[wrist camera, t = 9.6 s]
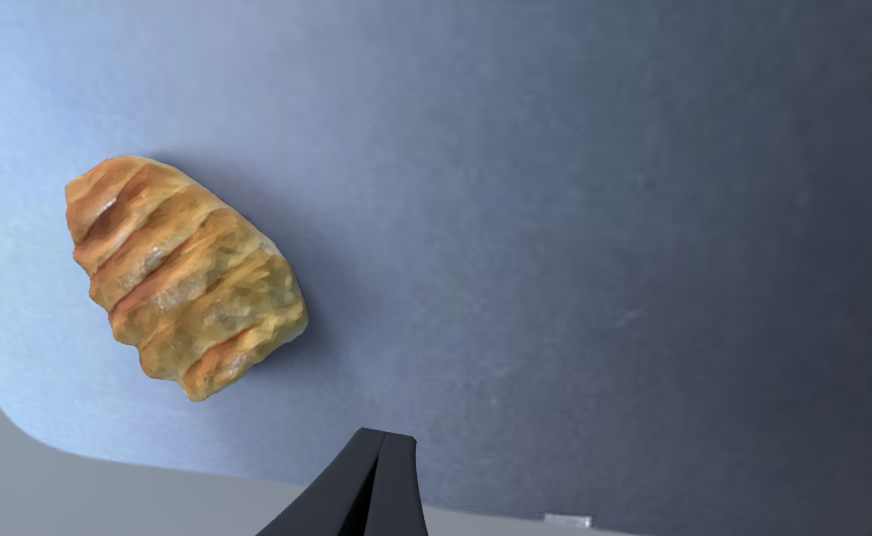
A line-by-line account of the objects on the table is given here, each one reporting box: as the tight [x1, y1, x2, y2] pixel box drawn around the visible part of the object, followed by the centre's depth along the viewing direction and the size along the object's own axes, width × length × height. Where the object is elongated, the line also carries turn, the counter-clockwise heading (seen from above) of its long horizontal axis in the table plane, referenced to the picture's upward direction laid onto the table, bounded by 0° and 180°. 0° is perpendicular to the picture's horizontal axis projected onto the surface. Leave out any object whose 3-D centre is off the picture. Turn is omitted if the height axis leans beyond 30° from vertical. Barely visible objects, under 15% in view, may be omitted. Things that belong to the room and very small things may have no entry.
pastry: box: [65, 155, 308, 401], centre depth 17 cm, size 9×7×4 cm
